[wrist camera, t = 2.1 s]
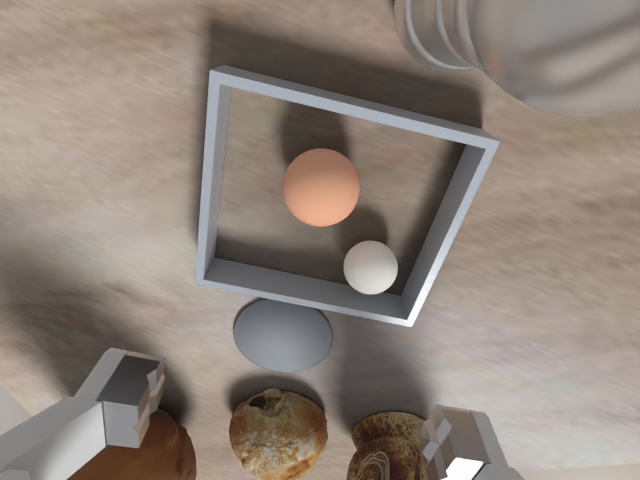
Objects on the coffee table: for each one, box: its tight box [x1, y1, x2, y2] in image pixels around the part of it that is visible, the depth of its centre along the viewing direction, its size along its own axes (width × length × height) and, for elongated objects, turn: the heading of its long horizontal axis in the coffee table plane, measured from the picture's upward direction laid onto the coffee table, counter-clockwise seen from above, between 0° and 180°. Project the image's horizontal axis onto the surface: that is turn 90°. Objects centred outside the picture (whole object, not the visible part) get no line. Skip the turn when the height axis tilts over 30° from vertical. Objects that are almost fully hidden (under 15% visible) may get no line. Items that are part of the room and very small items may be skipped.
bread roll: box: [229, 388, 328, 480], centre depth 38 cm, size 10×10×8 cm
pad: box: [234, 299, 332, 372], centre depth 34 cm, size 9×9×1 cm
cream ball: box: [343, 241, 398, 294], centre depth 28 cm, size 4×4×4 cm
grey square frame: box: [195, 65, 500, 327], centre depth 26 cm, size 17×15×3 cm
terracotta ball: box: [283, 148, 360, 227], centre depth 24 cm, size 5×5×5 cm
